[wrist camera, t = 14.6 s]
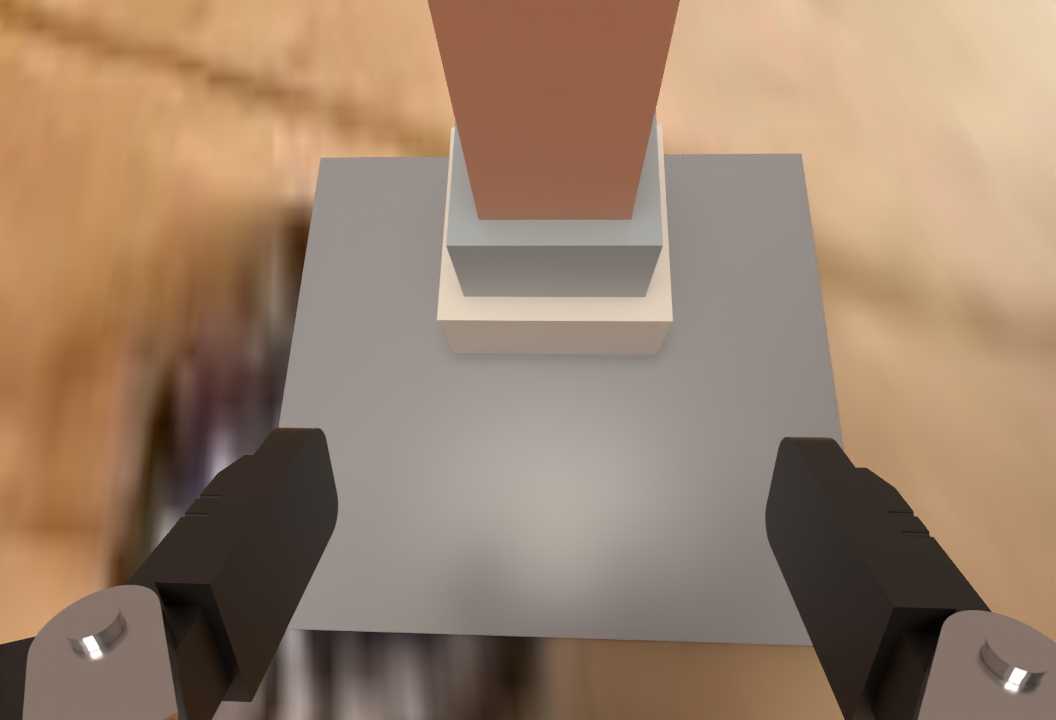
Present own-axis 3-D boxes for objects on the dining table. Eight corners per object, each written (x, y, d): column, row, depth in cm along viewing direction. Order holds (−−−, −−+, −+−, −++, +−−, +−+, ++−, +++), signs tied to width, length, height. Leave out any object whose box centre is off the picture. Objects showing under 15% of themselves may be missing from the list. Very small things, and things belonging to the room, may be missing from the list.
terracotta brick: (627, 95, 21) (685, -286, 12) (631, 219, 19) (701, -103, 10) (485, 96, 21) (428, -275, 12) (478, 219, 20) (405, -94, 10)
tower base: (648, 180, 29) (680, 48, 22) (656, 355, 26) (696, 273, 19) (465, 182, 30) (433, 52, 22) (453, 353, 27) (413, 273, 19)
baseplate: (795, 163, 30) (801, 153, 29) (861, 644, 23) (871, 647, 22) (326, 167, 31) (320, 157, 30) (256, 625, 24) (247, 627, 24)
